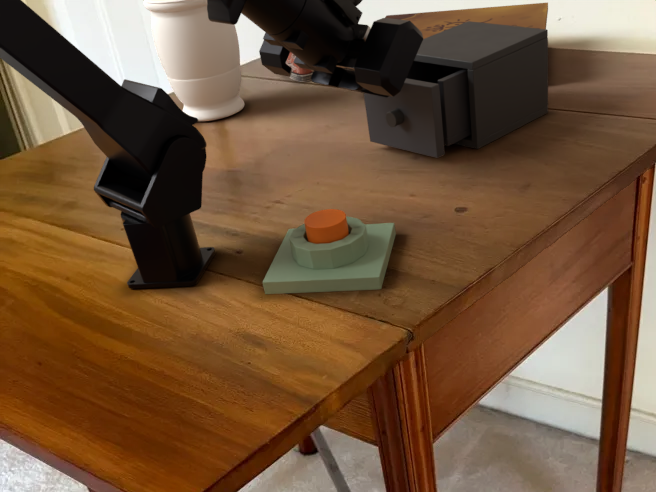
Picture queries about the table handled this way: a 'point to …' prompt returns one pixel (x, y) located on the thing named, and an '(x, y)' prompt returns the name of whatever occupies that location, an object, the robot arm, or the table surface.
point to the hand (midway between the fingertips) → (387, 92)
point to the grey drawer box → (495, 74)
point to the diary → (478, 17)
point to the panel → (332, 260)
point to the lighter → (298, 70)
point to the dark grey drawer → (422, 111)
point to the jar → (197, 57)
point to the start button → (326, 226)
